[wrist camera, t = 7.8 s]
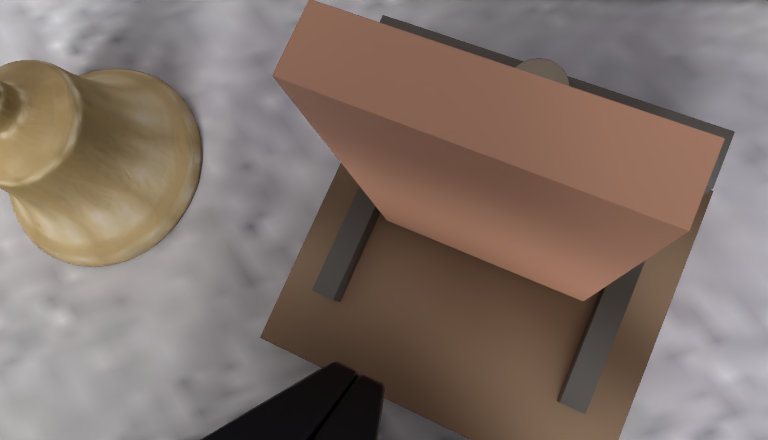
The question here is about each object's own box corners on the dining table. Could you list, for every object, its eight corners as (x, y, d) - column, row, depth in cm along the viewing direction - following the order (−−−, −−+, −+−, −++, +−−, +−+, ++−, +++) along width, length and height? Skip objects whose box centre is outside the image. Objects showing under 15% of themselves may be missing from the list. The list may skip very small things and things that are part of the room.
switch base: (589, 492, 21) (631, 551, 15) (271, 338, 24) (186, 331, 17) (702, 199, 22) (786, 134, 16) (387, 86, 25) (349, -10, 19)
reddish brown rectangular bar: (583, 301, 21) (689, 230, 9) (386, 220, 23) (272, 75, 11) (600, 258, 21) (724, 138, 10) (404, 181, 23) (309, -1, 11)
